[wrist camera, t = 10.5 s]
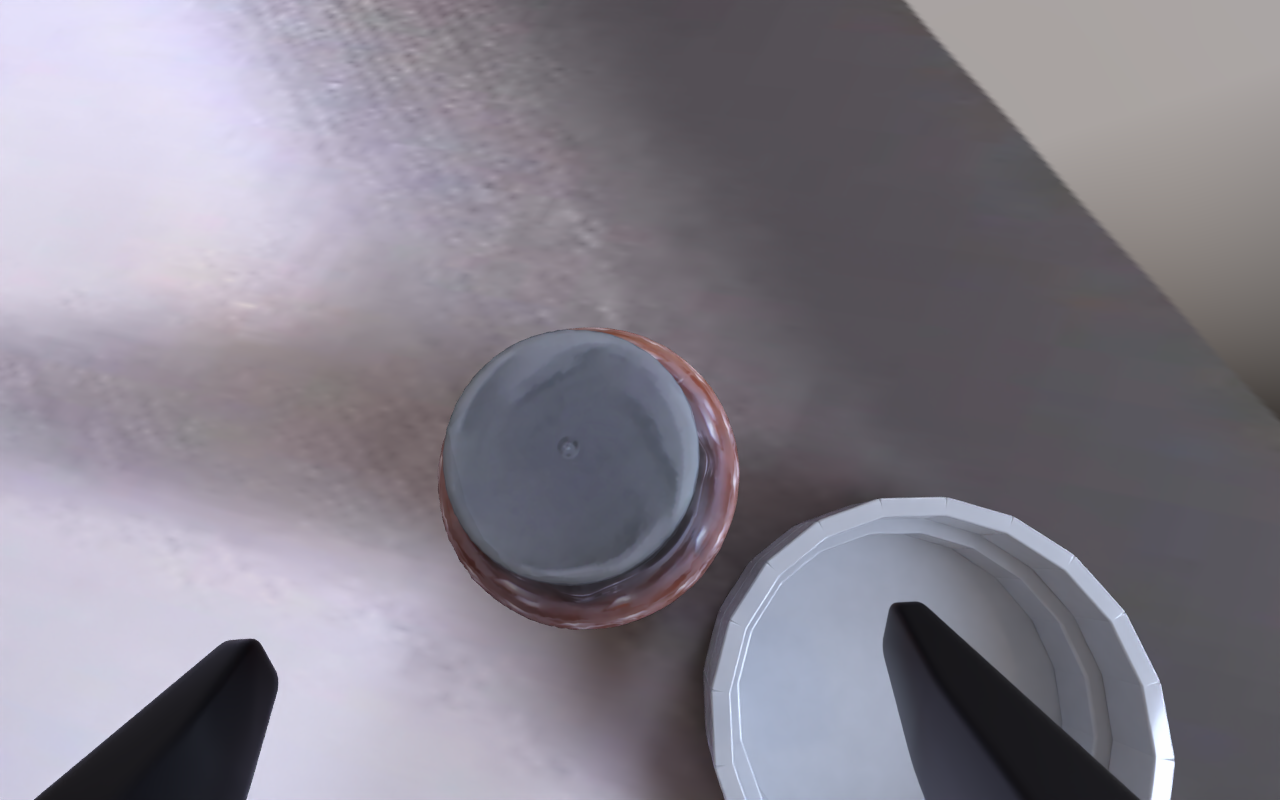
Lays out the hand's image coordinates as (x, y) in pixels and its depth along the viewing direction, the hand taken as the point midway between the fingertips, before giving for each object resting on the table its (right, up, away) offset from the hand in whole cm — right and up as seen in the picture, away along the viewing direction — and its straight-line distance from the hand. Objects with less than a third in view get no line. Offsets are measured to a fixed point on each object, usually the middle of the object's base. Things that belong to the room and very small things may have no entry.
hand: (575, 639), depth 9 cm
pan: (+8, -5, +10) cm, 14 cm away
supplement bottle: (0, 0, +12) cm, 12 cm away
